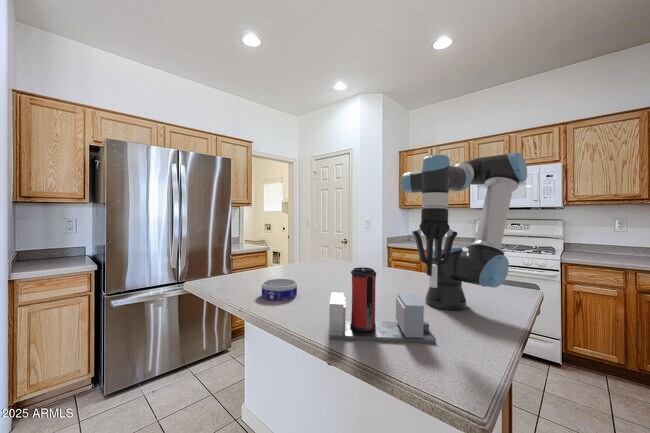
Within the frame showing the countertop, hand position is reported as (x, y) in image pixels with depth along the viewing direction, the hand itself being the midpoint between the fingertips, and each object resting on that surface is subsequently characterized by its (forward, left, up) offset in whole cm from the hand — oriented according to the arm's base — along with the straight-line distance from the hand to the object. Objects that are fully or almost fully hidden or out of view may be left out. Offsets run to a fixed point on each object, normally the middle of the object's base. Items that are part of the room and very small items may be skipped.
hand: (433, 286), depth 85 cm
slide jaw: (+6, 0, -13) cm, 14 cm away
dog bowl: (+55, -35, -15) cm, 67 cm away
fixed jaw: (+28, 0, -13) cm, 31 cm away
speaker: (+21, -1, -14) cm, 25 cm away
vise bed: (+16, 0, -15) cm, 21 cm away
